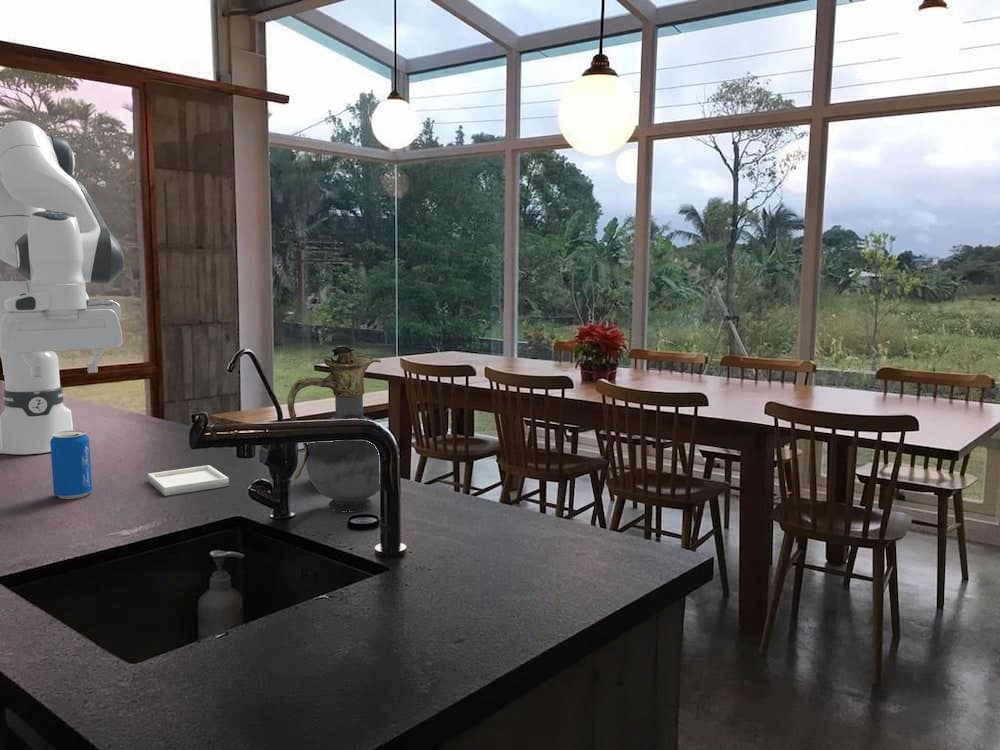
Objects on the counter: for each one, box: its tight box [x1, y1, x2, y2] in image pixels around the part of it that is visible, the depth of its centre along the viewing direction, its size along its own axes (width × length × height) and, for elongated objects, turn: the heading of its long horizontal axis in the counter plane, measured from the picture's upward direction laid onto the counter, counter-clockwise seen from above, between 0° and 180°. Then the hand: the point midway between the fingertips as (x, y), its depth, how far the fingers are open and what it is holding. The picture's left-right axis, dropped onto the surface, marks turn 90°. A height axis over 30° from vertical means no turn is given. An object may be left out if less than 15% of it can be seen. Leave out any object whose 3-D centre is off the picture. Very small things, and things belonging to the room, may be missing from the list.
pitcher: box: [287, 345, 381, 513], centre depth 146 cm, size 11×19×30 cm, turn 121°
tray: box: [147, 464, 230, 497], centre depth 162 cm, size 12×12×2 cm
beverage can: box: [50, 429, 93, 500], centre depth 153 cm, size 6×6×12 cm
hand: (65, 374), depth 151 cm, fingers open, 8 cm apart
